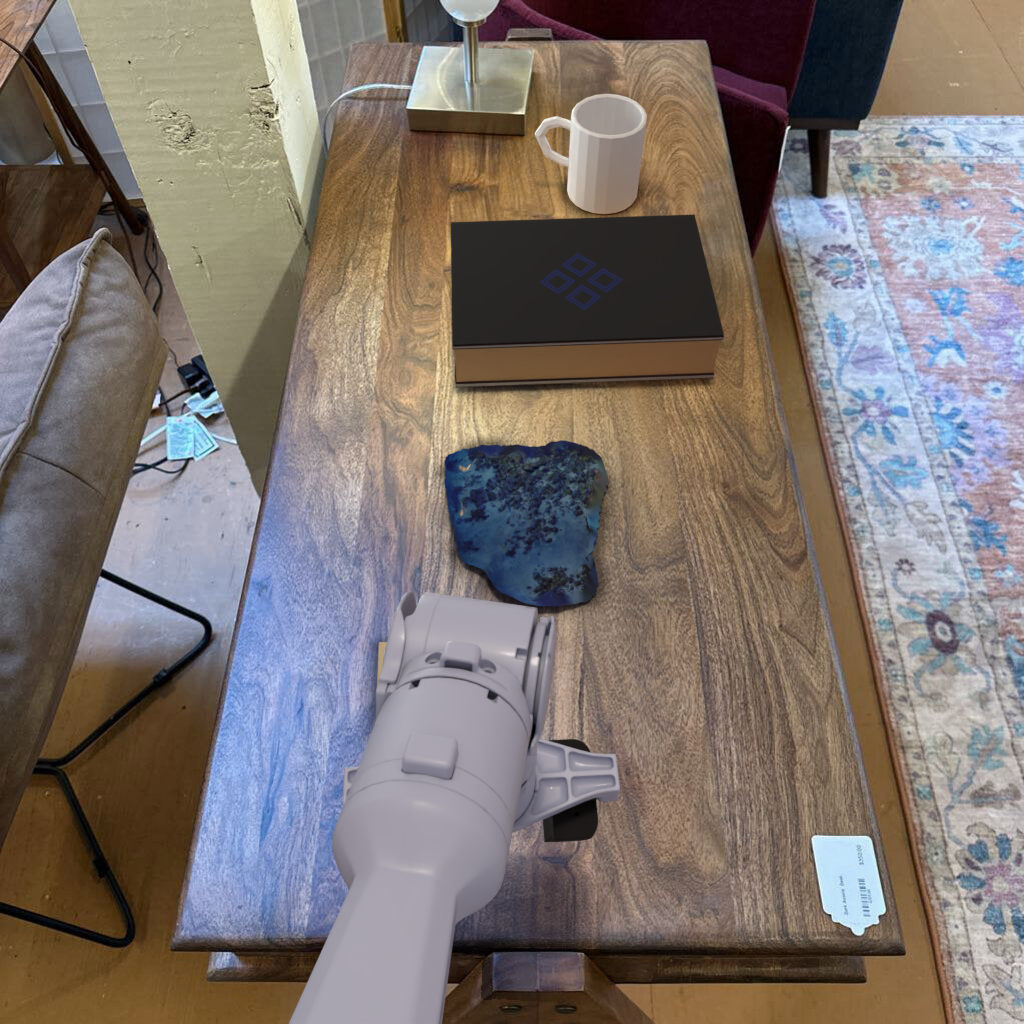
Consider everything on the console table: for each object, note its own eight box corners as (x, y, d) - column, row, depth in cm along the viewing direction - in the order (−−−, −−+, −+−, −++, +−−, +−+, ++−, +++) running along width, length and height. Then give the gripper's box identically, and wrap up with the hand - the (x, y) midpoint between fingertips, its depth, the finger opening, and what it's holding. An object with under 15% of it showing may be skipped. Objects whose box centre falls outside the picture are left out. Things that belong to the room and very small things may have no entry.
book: (454, 272, 99) (450, 221, 94) (684, 264, 100) (694, 213, 94) (455, 393, 90) (452, 344, 84) (711, 384, 90) (724, 335, 85)
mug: (538, 165, 110) (540, 87, 102) (639, 174, 109) (649, 96, 101) (529, 208, 105) (530, 130, 97) (634, 217, 104) (644, 139, 96)
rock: (607, 451, 85) (609, 438, 84) (604, 616, 76) (605, 605, 74) (449, 444, 86) (448, 431, 85) (427, 607, 77) (424, 595, 75)
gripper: (617, 666, 47) (597, 758, 59) (333, 680, 47) (368, 770, 58) (634, 803, 43) (610, 874, 55) (325, 820, 43) (364, 887, 54)
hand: (485, 828), depth 56 cm, fingers open, 7 cm apart
